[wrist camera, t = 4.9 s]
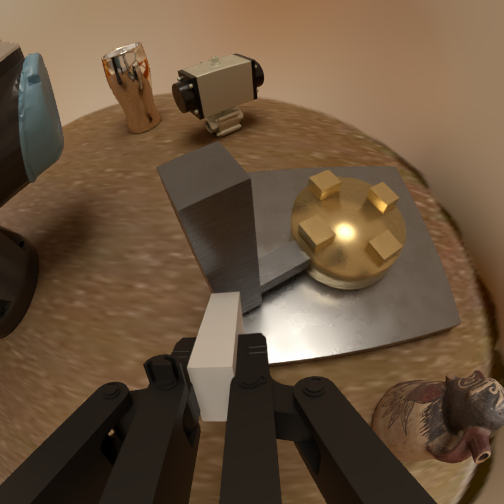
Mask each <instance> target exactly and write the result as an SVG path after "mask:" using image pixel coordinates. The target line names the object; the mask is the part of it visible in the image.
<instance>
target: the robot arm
mask: <svg viewBox="0 0 504 504" xmlns="http://www.w3.org/2000/svg"><path fill="white" fill-rule="evenodd" d="M63 147H64V137H63V131H62V126H61V122H60V117H59V113H58V109H57V105H56V101H55V98H54V93H53V90H52V86H51V83H50V79H49V75H48V72H47V69H46V67H45V64H44V62H43V58H42V56H41V54H39V53H34V54H29V55H28V56H26V58H24V56H23V53H22V51H21V48H20V46H19V44H16V43H9V42H2V41H1V40H0V208H1V207H2V206H3V205H4V204H5V203H7V202H8V201H9V200H10V199H11V198H12V197H14V196H15V195H16V194H17V193H18V192H20V191H21V190H22V189H23V188H25V187H26V186H27V185H28V184H30V183H33V182H35V180H36V178H37V177H38V176H39V175H40V174H41V173H43V172H44V171H45V170H46V169H48V168H49V167H50V166H51V165H53V164H54V163H55V162H56V161H57V160H58V159H59V158H60V156H61V154H62V151H63ZM37 274H38V258H37V253H36V250H35V248H34V247H33V245H32V244H31V243H30V242H29V241H28V240H27V239H26V238H25V237H23V236H22V235H20V234H18V233H16V232H14V231H11V230H9V229H7V228H4V227H2V226H0V338H1V337H4V336H6V335H7V334H9V333H10V332H11V331H12V330H13V329H14V328H15V327H16V326H17V324H18V323H19V322H20V320H21V319H22V317H23V315H24V314H25V312H26V310H27V308H28V305H29V303H30V301H31V298H32V295H33V292H34V288H35V285H36V280H37ZM143 366H144V368H145V371H146V374H147V377H148V380H149V382H150V384H149V386H148V388H145V389H141V390H134V391H129V389H128V387H127V386H126V385H125V384H123V383H121V382H109V383H107V384H104V385H102V386H101V387H100V388H98V389H97V390H96V391H95V392H94V393H93V394H92V395H91V396H90V397H89V398H88V399H87V400H86V401H85V402H84V403H83V404H82V405H81V406H80V407H79V408H78V409H77V410H76V411H75V412H74V413H73V414H72V415H71V416H70V417H69V418H68V419H67V420H66V421H65V422H64V423H62V424H61V425H60V426H59V427H58V428H57V429H56V430H55V431H54V432H53V433H52V434H51V435H50V436H49V437H48V438H47V439H46V440H45V441H44V442H43V443H42V444H41V445H40V446H39V447H38V448H37V449H36V450H35V451H34V452H33V453H32V454H31V455H30V456H29V457H28V458H27V459H26V460H25V461H24V462H23V463H22V464H21V465H20V466H19V467H18V468H17V469H16V470H15V471H14V472H13V473H12V474H11V475H10V476H9V477H8V478H7V479H6V480H5V481H4V482H3V483H2V484H1V485H0V504H189V498H190V492H191V486H192V480H193V474H194V468H195V462H196V456H197V450H198V444H199V438H200V433H201V429H200V425H199V422H198V420H199V415H200V414H201V418H202V421H227V423H226V434H225V445H224V456H223V467H222V478H221V490H220V501H219V504H282V501H281V489H280V477H279V466H278V455H277V443H276V439H282V440H289V441H294V444H295V446H296V447H297V449H298V451H299V453H300V455H301V457H302V459H303V461H304V463H305V465H306V466H307V468H308V470H309V472H310V474H311V476H312V477H313V479H314V481H315V483H316V485H317V487H318V488H319V490H320V492H321V494H322V496H323V497H324V499H325V501H326V503H327V504H437V503H436V502H435V501H434V499H433V498H432V497H431V496H430V495H429V494H428V493H427V492H426V491H425V489H424V488H423V487H422V486H421V485H420V484H419V483H418V482H417V480H416V479H415V478H414V477H413V476H412V475H411V474H410V473H409V471H408V470H407V469H406V468H405V467H404V466H403V465H402V463H401V462H400V461H399V460H398V459H397V458H396V456H395V455H394V454H393V453H392V452H391V451H390V450H389V448H388V447H387V446H386V445H385V444H384V443H383V441H382V440H381V439H380V438H379V437H378V436H377V434H376V433H375V432H374V431H373V430H372V428H371V427H370V426H369V425H368V424H367V423H366V421H365V420H364V419H363V418H362V417H361V415H360V414H359V413H358V412H357V411H356V410H355V408H354V407H353V406H352V405H351V404H350V402H349V401H348V400H347V399H346V398H345V396H344V395H343V394H342V393H341V392H340V390H339V389H338V388H337V387H336V385H335V384H334V383H333V382H332V381H330V380H329V379H327V378H324V377H318V376H312V377H306V378H304V379H302V380H300V381H298V382H297V383H296V384H295V386H288V385H283V384H280V383H278V382H276V381H275V380H273V379H272V377H271V376H270V371H269V361H268V351H267V341H266V337H265V336H264V335H263V334H262V333H250V334H244V326H243V318H242V309H241V301H240V292H227V293H214V294H211V297H210V300H209V303H208V306H207V309H206V312H205V315H204V317H203V320H202V323H201V326H200V329H199V332H198V335H197V337H193V338H182V339H181V340H180V341H179V342H177V343H176V345H175V347H174V349H173V352H172V354H171V355H167V354H164V355H158V356H154V357H152V358H150V359H148V360H147V361H146V362H145V363H144V364H143ZM112 429H113V431H114V433H113V434H112V435H111V436H109V435H108V433H109V432H110V431H111V430H112Z"/></svg>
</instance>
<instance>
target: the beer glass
mask: <svg viewBox="0 0 504 504" xmlns="http://www.w3.org/2000/svg"><path fill="white" fill-rule="evenodd" d="M101 60H102V63H103V67H104V72H105V75H106V78H107V81H108V84H109V86H110V88H111V90H112V92H113V94H114V96H115V97H116V99H117V100H118V102H119V104H120V105H121V107H122V109H123V110H124V113H125V115H126V118H127V124H128V129H129V131H130V132H131V133H142V132H146V131H148V130H150V129H152V128H154V127H155V126H156V125H158V124H159V122H160V121H161V115H160V113H159V112H158V110H157V108H156V106H155V103H154V100H153V93H152V82H151V73H150V68H149V64H148V60H147V57H146V54H145V52H144V49H143V47H142V43H141V42H135V43H131V44H128V45H125V46H122V47H120V48H117V49H115V50H113V51H111V52H109V53H107V54H106V55H104V56H103V57H102V58H101Z"/></svg>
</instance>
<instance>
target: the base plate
mask: <svg viewBox="0 0 504 504" xmlns="http://www.w3.org/2000/svg"><path fill="white" fill-rule="evenodd" d="M326 170H330V171H331V172H332V173H333V174H334V175H335V176H336V177H349V178H355V179H358V180H362V181H364V182H367V183H369V184H371V185H373V186H375V185H377V184H379V183H381V182H384V183H385V184H386V185H387V186H388V187H389V188H390V189H391V190H392V191H393V192H394V193H395V194H396V195H397V196H398V197H399V200H398V202H397V205H396V206H397V207H398V209H399V211H400V213H401V215H402V217H403V219H404V223H405V228H406V240H405V244H404V247H403V250H402V252H401V253H400V255H399V256H398V258H397V259H396V261H395V262H394V264H393V265H392V266H391V268H390V269H389V271H388V272H387V273H386V274H385V275H384V277H383V278H381V279H380V280H379V281H378V282H376V283H374V284H373V285H370V286H368V287H365V288H361V289H354V290H345V289H338V288H334V287H330V286H328V285H325V284H323V283H321V282H319V281H317V280H316V279H314V278H313V277H312V276H310V275H309V274H308V273H307V272H306V271H305V270H303V271H301V272H299V273H297V274H296V275H294V276H292V277H290V278H288V279H287V280H285V281H283V282H281V283H279V284H278V285H276V286H274V287H272V288H270V289H269V290H267V291H265V292H263V293H261V298H262V304H260V305H259V306H257V307H255V308H253V309H251V310H249V311H247V312H246V313H244V314H242V318H243V326H244V334H250V333H262V334H263V335H264V336H265V337H266V341H267V351H268V361H269V367H271V366H281V365H290V364H298V363H305V362H312V361H319V360H326V359H332V358H338V357H343V356H349V355H354V354H359V353H364V352H369V351H374V350H378V349H383V348H387V347H391V346H395V345H399V344H403V343H407V342H411V341H415V340H418V339H422V338H426V337H429V336H432V335H436V334H439V333H442V332H445V331H449V330H451V329H453V328H454V327H456V326H458V325H459V324H461V322H460V318H459V315H458V311H457V308H456V304H455V301H454V298H453V295H452V292H451V289H450V286H449V283H448V280H447V277H446V274H445V271H444V269H443V266H442V263H441V261H440V258H439V256H438V253H437V251H436V248H435V246H434V243H433V241H432V239H431V236H430V234H429V232H428V229H427V227H426V225H425V223H424V221H423V219H422V216H421V214H420V212H419V210H418V208H417V206H416V204H415V202H414V200H413V198H412V196H411V194H410V192H409V191H408V189H407V187H406V185H405V183H404V181H403V179H402V178H401V176H400V174H399V172H398V171H397V169H396V167H375V166H367V167H322V168H301V169H285V170H272V171H260V172H249V173H247V174H248V175H249V176H250V177H251V184H252V195H253V207H254V218H255V229H256V240H257V252H258V259H259V258H261V257H263V256H265V255H267V254H269V253H271V252H273V251H275V250H277V249H279V248H280V247H282V246H284V245H286V244H288V243H290V226H291V214H292V207H293V204H294V201H295V199H296V197H297V196H298V194H299V193H300V192H301V191H302V190H303V189H304V188H305V187H306V186H308V181H309V177H312V176H314V175H316V174H319V173H321V172H323V171H326Z"/></svg>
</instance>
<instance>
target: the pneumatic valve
mask: <svg viewBox="0 0 504 504" xmlns="http://www.w3.org/2000/svg"><path fill="white" fill-rule="evenodd" d="M178 74H179V78H178V79H177V80H178V81H180V82H178V83H175V84H173V85H172V93H173V97H174V100H175V102H176V104H177V106H178V108H179V109H180V111H181V112H182V113H187V112H189V111H190V112H191V113H192V114H194V115H195V116H196V117H197V118H199V119H200V120H201V119H203V118H206V117H209V118H206V119H205V126H206V128H207V130H208V131H209V132H210V133H215V132H216V133H217V134H216V135H217V136H218V137H219V136H220V137H222V136H225V135H227V134H229V133H232V132H234V131H237V130H239V129H240V128H241V124H239V122H241V121H242V120H243V113H242V111H241V110H240V109H239V108H237V107H236V106H237V105H240V104H243V103H246V102H249V101H252V100H255V99H257V92H258V89H257V87H260V86H261V85H262V84H263V82H264V74H263V70H262V68H261V66H260V65H259V64H258V62H256V61H255V60H254V59H251V58H248V57H245V56H242V55H239V54H232V55H229V56H225V57H221V58H219V57H218V56H215V57H211V60H208V61H207V62H204V63H203V62H201V63H199V64H197V65H195V66H192V67H189V68H185V69H182V70H180V71H178Z"/></svg>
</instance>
